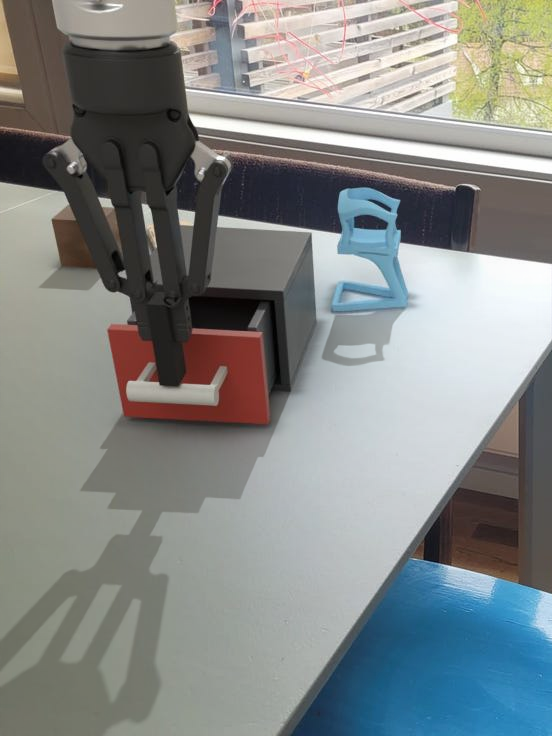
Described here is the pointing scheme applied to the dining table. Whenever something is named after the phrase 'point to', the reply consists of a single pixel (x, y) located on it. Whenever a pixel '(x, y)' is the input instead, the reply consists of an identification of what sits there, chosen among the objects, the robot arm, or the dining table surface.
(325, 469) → the dining table surface
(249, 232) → the grey drawer unit
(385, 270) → the chair
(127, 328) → the red drawer
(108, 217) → the walnut block
